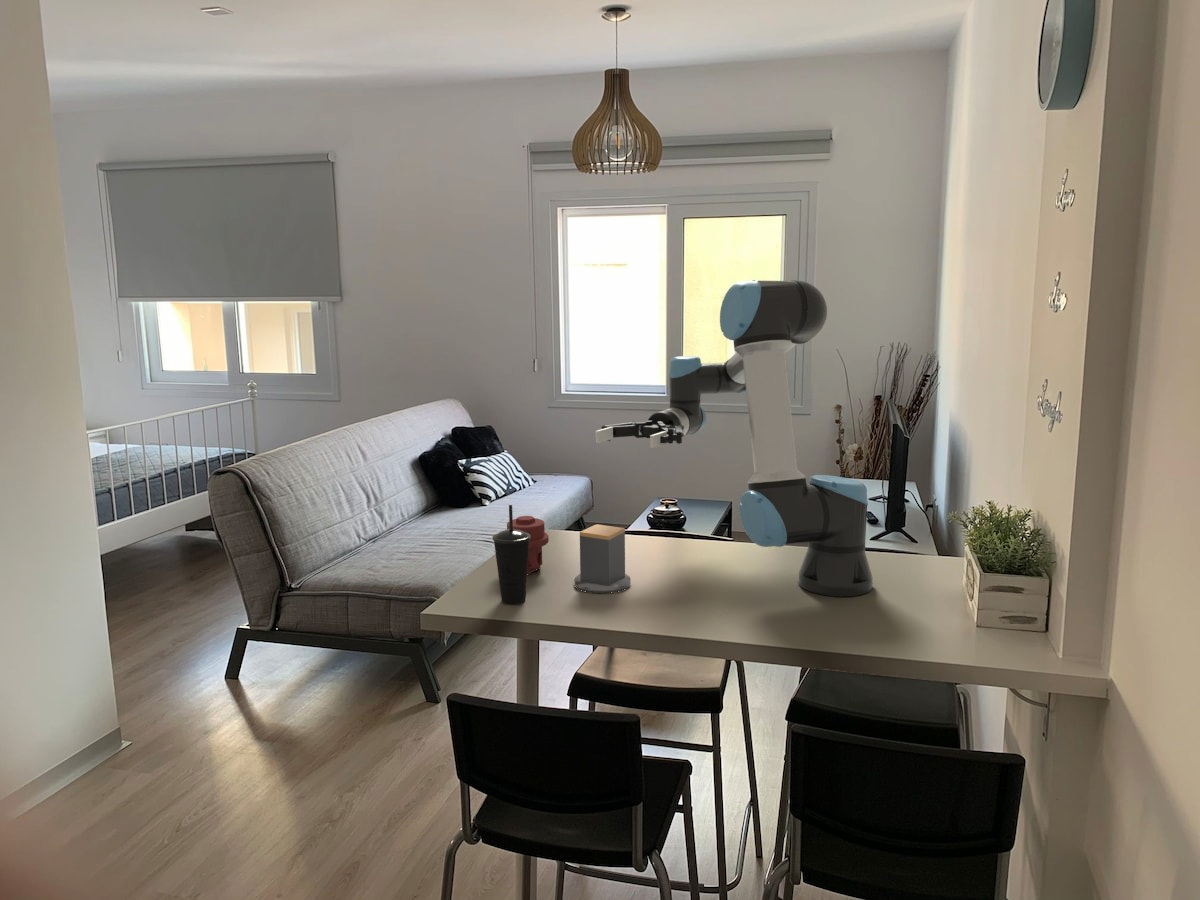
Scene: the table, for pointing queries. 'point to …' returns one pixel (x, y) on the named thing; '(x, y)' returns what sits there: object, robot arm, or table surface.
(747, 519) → the robot arm
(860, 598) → the table surface
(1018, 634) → the table surface
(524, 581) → the drinking cup
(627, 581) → the post base
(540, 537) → the mechanical component
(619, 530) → the sleeve
